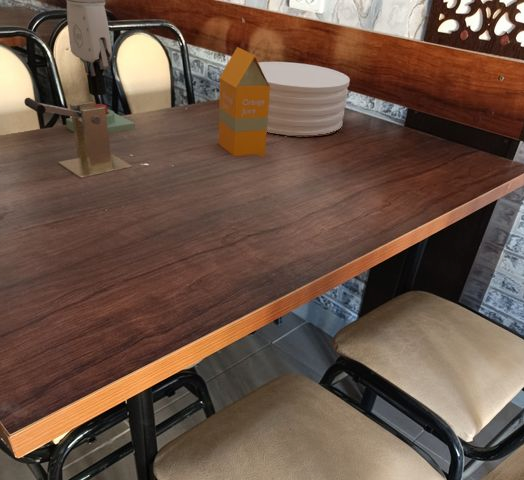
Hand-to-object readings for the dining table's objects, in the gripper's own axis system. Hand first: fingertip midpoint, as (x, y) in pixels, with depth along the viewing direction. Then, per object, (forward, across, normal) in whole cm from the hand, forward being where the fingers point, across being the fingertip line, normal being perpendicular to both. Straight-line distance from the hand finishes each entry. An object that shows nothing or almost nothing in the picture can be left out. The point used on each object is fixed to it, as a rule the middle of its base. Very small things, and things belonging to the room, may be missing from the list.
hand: (97, 94), depth 113 cm
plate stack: (+8, +16, +47) cm, 50 cm away
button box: (+8, 0, 0) cm, 8 cm away
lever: (-2, +21, -18) cm, 28 cm away
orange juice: (+8, +28, +19) cm, 35 cm away
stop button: (+4, 0, 0) cm, 4 cm away
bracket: (+8, +21, -13) cm, 26 cm away
